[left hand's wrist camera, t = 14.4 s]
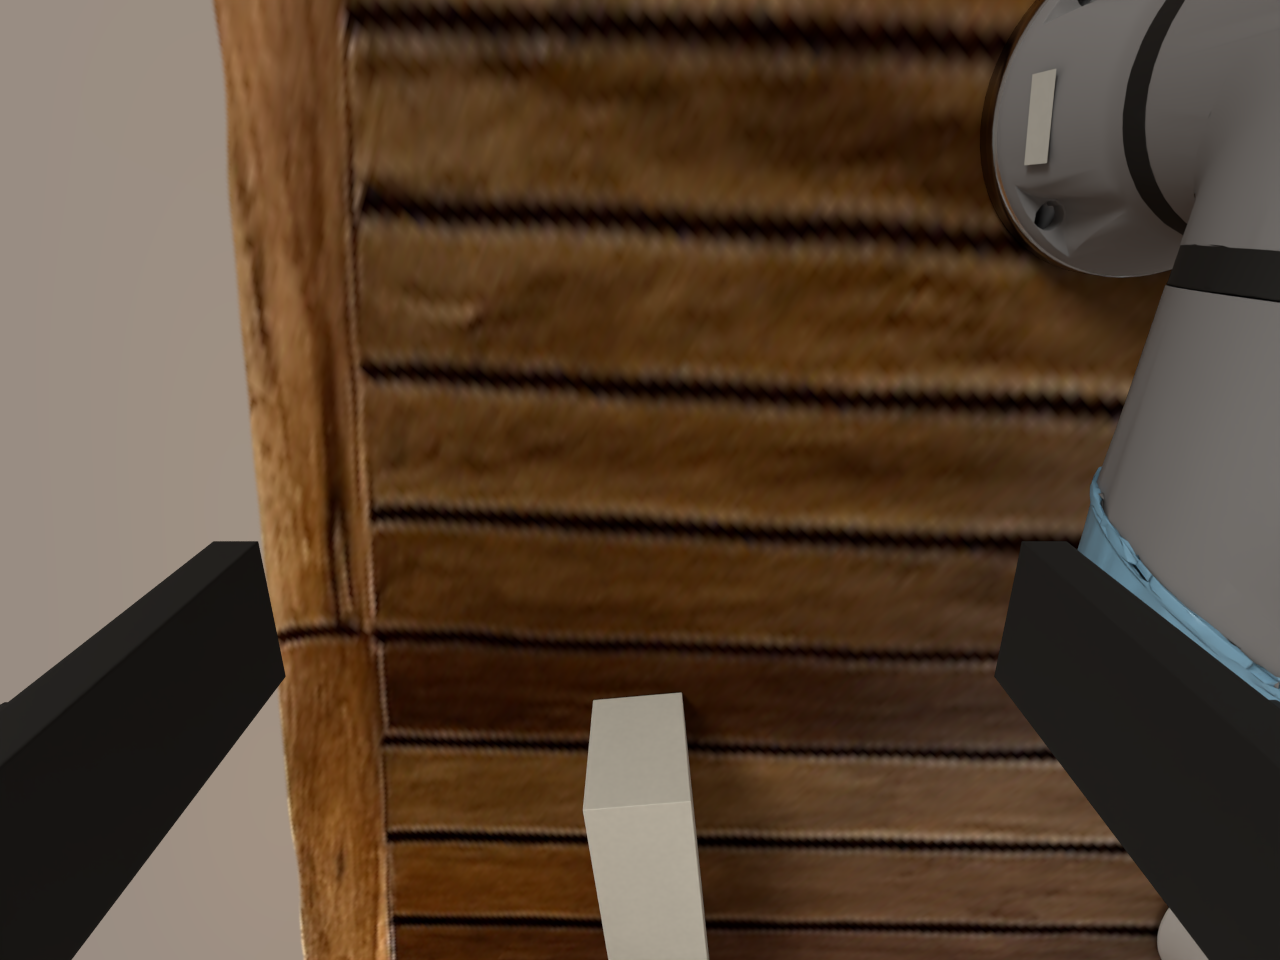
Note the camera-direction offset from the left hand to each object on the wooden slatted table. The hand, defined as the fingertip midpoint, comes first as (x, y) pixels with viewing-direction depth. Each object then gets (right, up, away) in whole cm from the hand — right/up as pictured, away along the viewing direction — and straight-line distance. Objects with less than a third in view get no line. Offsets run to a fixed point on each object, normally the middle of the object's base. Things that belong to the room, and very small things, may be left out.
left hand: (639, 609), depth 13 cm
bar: (+1, -24, +40) cm, 46 cm away
